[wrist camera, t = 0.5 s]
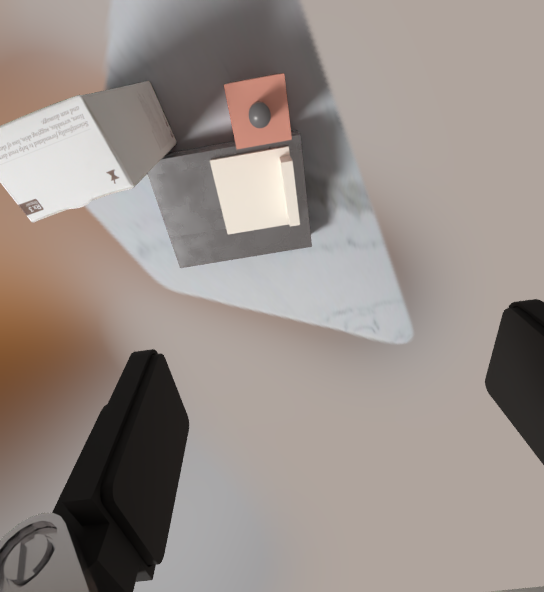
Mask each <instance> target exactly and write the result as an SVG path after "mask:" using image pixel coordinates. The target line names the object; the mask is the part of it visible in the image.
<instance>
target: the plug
mask: <svg viewBox="0 0 544 592" xmlns="http://www.w3.org/2000/svg"><path fill="white" fill-rule="evenodd" d="M224 89H225V94H226V99H227V104H228V109H229V114H230V119H231V124H232V129H233V134H234V139H235V144H236V149H242V148H248V147H254V146H259V145H265V144H270V143H276V142H282V141H287V140H292V136H291V128H290V119H289V110H288V102H287V93H286V84H285V76H284V73H281V74H273V75H267V76H262V77H257V78H251V79H246V80H241V81H235V82H230V83H227V84H224Z"/></svg>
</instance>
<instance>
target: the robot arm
mask: <svg viewBox="0 0 544 592" xmlns="http://www.w3.org/2000/svg"><path fill="white" fill-rule="evenodd" d="M485 385H486V388H487V391H488V393H489V394H490V395H491V397H492V398H493V399H494V401H495V402H496V403H497V405H498V406H499V407H500V408H501V410H502V411H503V412H504V414H505V415H506V416H507V418H508V419H509V420H510V421H511V423H512V424H513V426H514V427H515V428H516V429H517V431H518V432H519V433H520V435H521V436H522V437H523V438H524V440H525V441H526V443H527V444H528V445H529V446H530V448H531V449H532V450H533V451H534V453H535V454H536V455H537V457H538V458H539V459H540V461H541V462H542V463H543V465H544V302H542V301H540V300H537V299H534V300H526V301H519V302H513V303H511V305H509V308H508V309H505V310H504V312H503V315H502V319H501V322H500V326H499V330H498V334H497V337H496V341H495V345H494V349H493V352H492V356H491V360H490V364H489V368H488V371H487V375H486V379H485ZM188 431H189V419H188V416H187V413H186V410H185V408H184V406H183V403H182V400H181V398H180V395H179V393H178V390H177V387H176V385H175V382H174V380H173V377H172V375H171V372H170V370H169V367H168V364H167V362H166V359H165V357H164V355H163V354H158V353H157V351H156V350H153V349H152V350H145V351H138V352H133V353H132V354H131V356H130V358H129V360H128V362H127V364H126V366H125V368H124V370H123V373H122V375H121V377H120V379H119V381H118V383H117V385H116V387H115V390H114V392H113V394H112V396H111V398H110V400H109V403H108V404H107V405H106V406H104V407H103V409H102V411H101V412H100V414H99V416H98V419H97V421H96V423H95V425H94V427H93V429H92V431H91V433H90V435H89V437H88V439H87V441H86V444H85V445H84V448H83V450H82V452H81V454H80V456H79V458H78V460H77V462H76V464H75V466H74V468H73V470H72V473H71V475H70V477H69V479H68V481H67V483H66V485H65V487H64V489H63V491H62V493H61V495H60V497H59V500H58V502H57V504H56V506H55V508H54V510H53V512H52V513H41V514H38V515H35V516H32V517H30V518H28V519H26V520H25V521H23V522H21V523H19V524H18V525H17V526H15V527H14V528H13V529H12V530H11V531H9V532H8V533H7V534H6V535H5V536H4V537H3V538H2V539H1V540H0V592H133V589H134V586H135V582H138V581H147V580H152V579H153V575H154V570H155V565H156V564H160V563H161V562H162V560H163V557H164V553H165V547H166V543H167V538H168V533H169V528H170V523H171V518H172V513H173V507H174V502H175V497H176V492H177V487H178V482H179V477H180V472H181V467H182V462H183V456H184V451H185V446H186V441H187V436H188ZM493 592H544V586H543V587H533V588H522V589H512V590H503V591H493Z"/></svg>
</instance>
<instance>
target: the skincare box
mask: <svg viewBox="0 0 544 592" xmlns="http://www.w3.org/2000/svg"><path fill="white" fill-rule="evenodd" d="M176 143H177V142H176V140H175V137H174V135H173V133H172V131H171V128H170V126H169V124H168V121H167V119H166V117H165V115H164V112H163V110H162V108H161V106H160V103H159V101H158V99H157V97H156V94H155V92H154V90H153V88H152V85H151V83H150V82H149V81H145V82H141V83H137V84H132V85H127V86H123V87H118V88H114V89H109V90H105V91H100V92H96V93H92V94H86V95H77V96H74V97H72V98H69V99H66V100H63V101H60V102H58V103H55V104H52V105H50V106H47V107H45V108H42V109H40V110H37V111H35V112H32V113H30V114H27V115H25V116H22V117H20V118H18V119H15V120H13V121H11V122H9V123H6V124H4V125H1V126H0V183H1V184H2V185H3V186H4V188H5V189H6V190H7V191H8V193H9V194H10V195H11V197H12V198H13V199H14V200H15V202H16V203H17V204H18V205H19V207H20V208H21V209H22V210H23V211H24V213H25V214H26V215H27V216H28V218H29V219H30V220H31V222H35V221H38V220H40V219H43V218H46V217H48V216H51V215H53V214H56V213H59V212H62V211H65V210H67V209H75V208H80V207H83V206H85V205H87V204H88V203H89V202H90V201H93V200H95V199H98V198H101V197H104V196H107V195H109V194H113V193H116V192H120V191H124V190H128V189H131V188H134V187H135V186H136V185H137V184H138V183H139V182H140V181H141V180H142V178H143V177H144V176H145V175H146V174H147V173H148V172H149V171H150V170H151V169H152V168H153V167H154V166H155V165H156V164H157V163H158V162H159V161H160V160H161V159H162V158H163V157H164V156H165V155H166V154H167V153H168V152H169V151H170V150H171V149H172V148H173V147H174V146H175V145H176Z"/></svg>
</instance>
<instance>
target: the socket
mask: <svg viewBox="0 0 544 592" xmlns="http://www.w3.org/2000/svg"><path fill="white" fill-rule="evenodd" d="M291 136H292V140H287V141H282V142H276V143H270V144H265V145H259V146H254V147H248V148H242V149H236V144H235V141H234V142H228V143H223V144H217V145H212V146H206V147H201V148H195V149H189V150H184V151H178V152H173V153H167V154H166V155H165V156H164V157H163V158H162V159H161V160H160V161H159V162H158V163H157V164H156V165H155V166H154V167H153V168H152V169H151V170H150V171H149V172H148V173H147V174H148V177H149V179H150V182H151V185H152V188H153V191H154V194H155V197H156V200H157V203H158V205H159V208H160V211H161V214H162V217H163V220H164V223H165V226H166V229H167V231H168V234H169V237H170V240H171V243H172V246H173V249H174V252H175V254H176V257H177V260H178V263H179V266H180V268H184V267H191V266H197V265H203V264H209V263H215V262H221V261H227V260H233V259H239V258H245V257H251V256H257V255H263V254H269V253H276V252H282V251H288V250H294V249H300V248H306V247H312V243H311V233H310V223H309V213H308V203H307V194H306V184H305V174H304V164H303V154H302V144H301V135H300V133H299V132H298V131H297V130H295V131H291ZM284 146H289V152H290V157H291V159H292V161H293V169H294V178H295V186H296V195H297V203H298V212H299V220H300V225H297V226H291V227H290V225H289V224H288V225H282V226H276V227H270V228H264V229H258V230H252V231H246V232H240V233H235V234H229V235H228V234H227V230H226V226H225V222H224V217H223V213H222V209H221V205H220V201H219V197H218V193H217V189H216V185H215V181H214V177H213V173H212V168H211V164H210V160H211V159H217V158H222V157H228V156H234V155H239V154H245V153H250V152H256V151H262V150H267V149H273V148H279V147H284Z"/></svg>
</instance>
